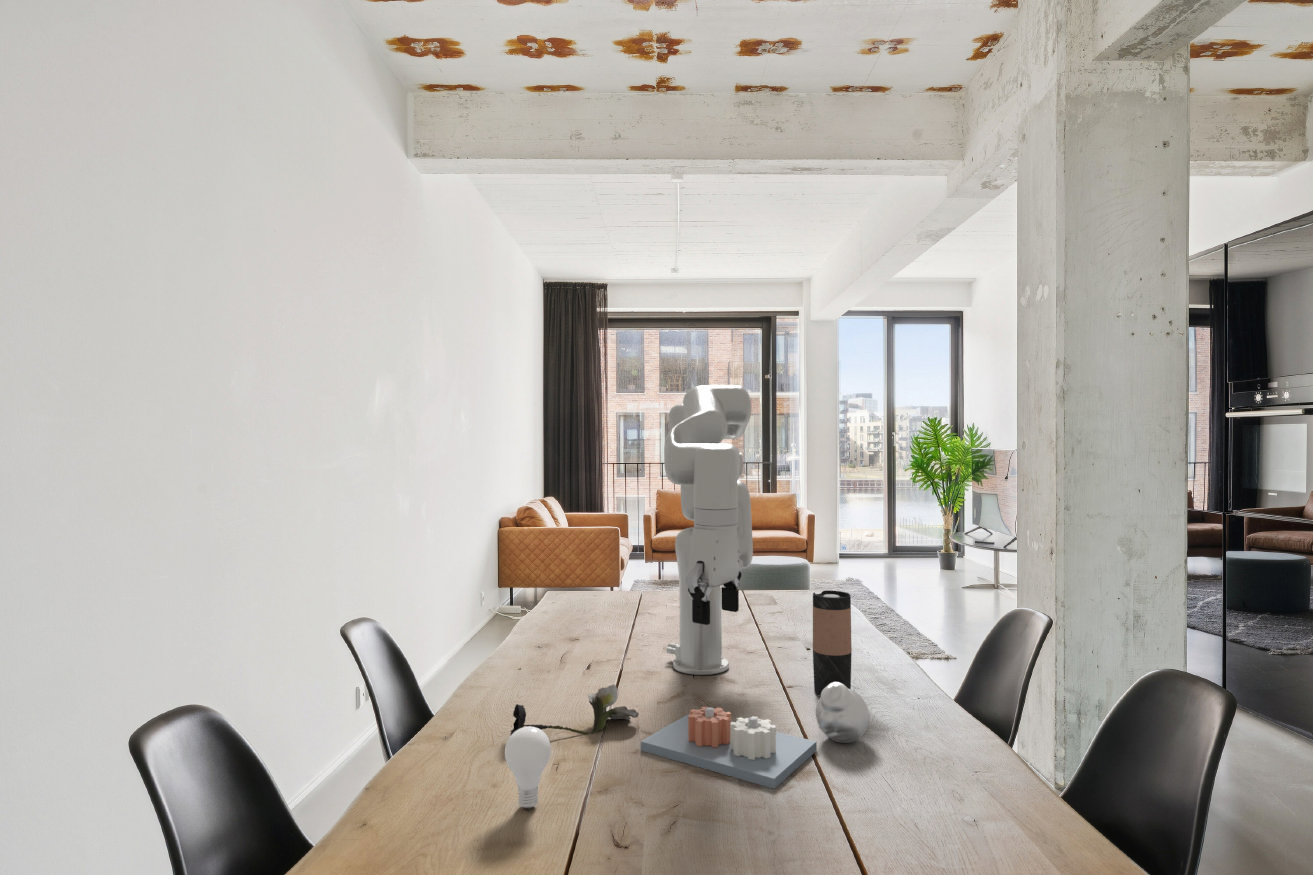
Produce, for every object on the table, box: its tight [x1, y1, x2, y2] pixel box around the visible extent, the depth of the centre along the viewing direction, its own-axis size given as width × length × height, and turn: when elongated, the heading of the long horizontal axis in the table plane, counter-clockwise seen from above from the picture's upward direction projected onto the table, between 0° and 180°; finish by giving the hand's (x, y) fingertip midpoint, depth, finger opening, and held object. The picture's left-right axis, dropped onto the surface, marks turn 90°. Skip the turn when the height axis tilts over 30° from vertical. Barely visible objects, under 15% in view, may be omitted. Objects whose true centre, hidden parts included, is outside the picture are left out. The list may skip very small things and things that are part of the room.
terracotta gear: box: [688, 706, 732, 748], centre depth 120 cm, size 7×7×4 cm
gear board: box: [640, 707, 818, 790], centre depth 119 cm, size 24×16×6 cm, turn 55°
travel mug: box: [812, 589, 853, 697], centre depth 147 cm, size 8×8×20 cm
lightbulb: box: [504, 726, 552, 810], centre depth 101 cm, size 6×6×11 cm
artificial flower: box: [509, 683, 639, 736], centre depth 128 cm, size 9×22×10 cm, turn 110°
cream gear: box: [730, 716, 777, 760], centre depth 115 cm, size 7×7×4 cm
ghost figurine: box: [815, 682, 870, 744], centre depth 123 cm, size 9×10×10 cm
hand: (716, 616), depth 125 cm, fingers open, 9 cm apart
